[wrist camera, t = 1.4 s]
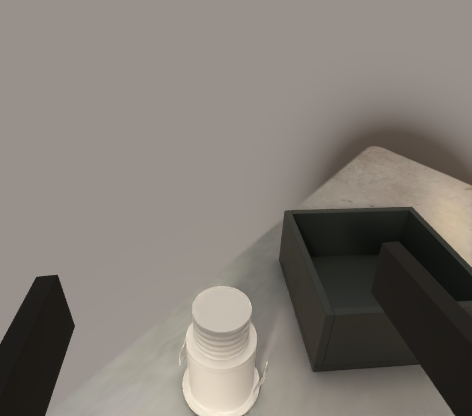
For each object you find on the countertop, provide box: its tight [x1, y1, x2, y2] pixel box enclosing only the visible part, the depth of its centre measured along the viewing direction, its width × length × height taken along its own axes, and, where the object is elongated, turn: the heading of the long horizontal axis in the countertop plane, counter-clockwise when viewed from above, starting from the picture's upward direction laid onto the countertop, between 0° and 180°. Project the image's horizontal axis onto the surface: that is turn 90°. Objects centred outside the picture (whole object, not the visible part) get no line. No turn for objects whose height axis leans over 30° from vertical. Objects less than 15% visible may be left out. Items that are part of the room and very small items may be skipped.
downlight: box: [179, 286, 268, 416], centre depth 30 cm, size 8×7×10 cm
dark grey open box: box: [279, 207, 472, 372], centre depth 39 cm, size 17×17×8 cm
